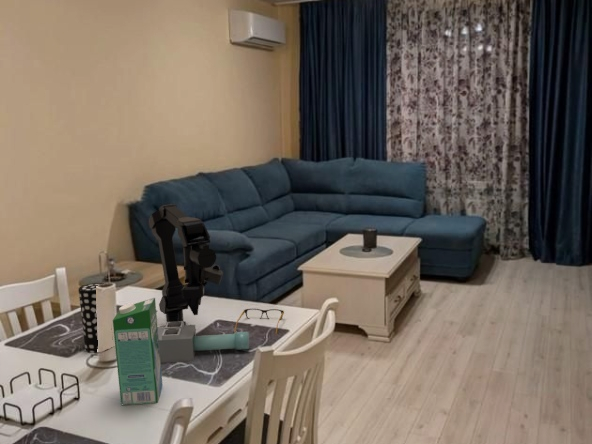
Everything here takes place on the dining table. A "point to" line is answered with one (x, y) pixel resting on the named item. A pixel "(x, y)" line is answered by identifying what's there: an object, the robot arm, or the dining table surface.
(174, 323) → the plunger
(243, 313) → the eyeglasses
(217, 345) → the cartridge
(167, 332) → the plunger
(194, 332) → the housing
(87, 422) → the dining table surface
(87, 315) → the spotted tube
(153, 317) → the milk carton
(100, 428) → the dining table surface
